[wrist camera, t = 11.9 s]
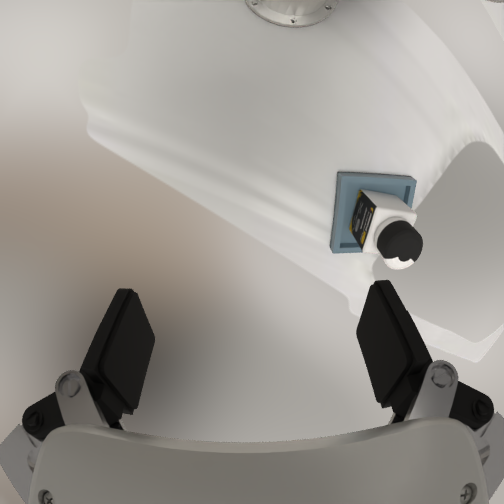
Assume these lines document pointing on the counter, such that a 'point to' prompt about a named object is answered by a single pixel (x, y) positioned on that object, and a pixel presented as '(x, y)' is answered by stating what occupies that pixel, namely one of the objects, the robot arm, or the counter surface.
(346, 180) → the tray
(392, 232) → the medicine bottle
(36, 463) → the robot arm
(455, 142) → the counter surface
